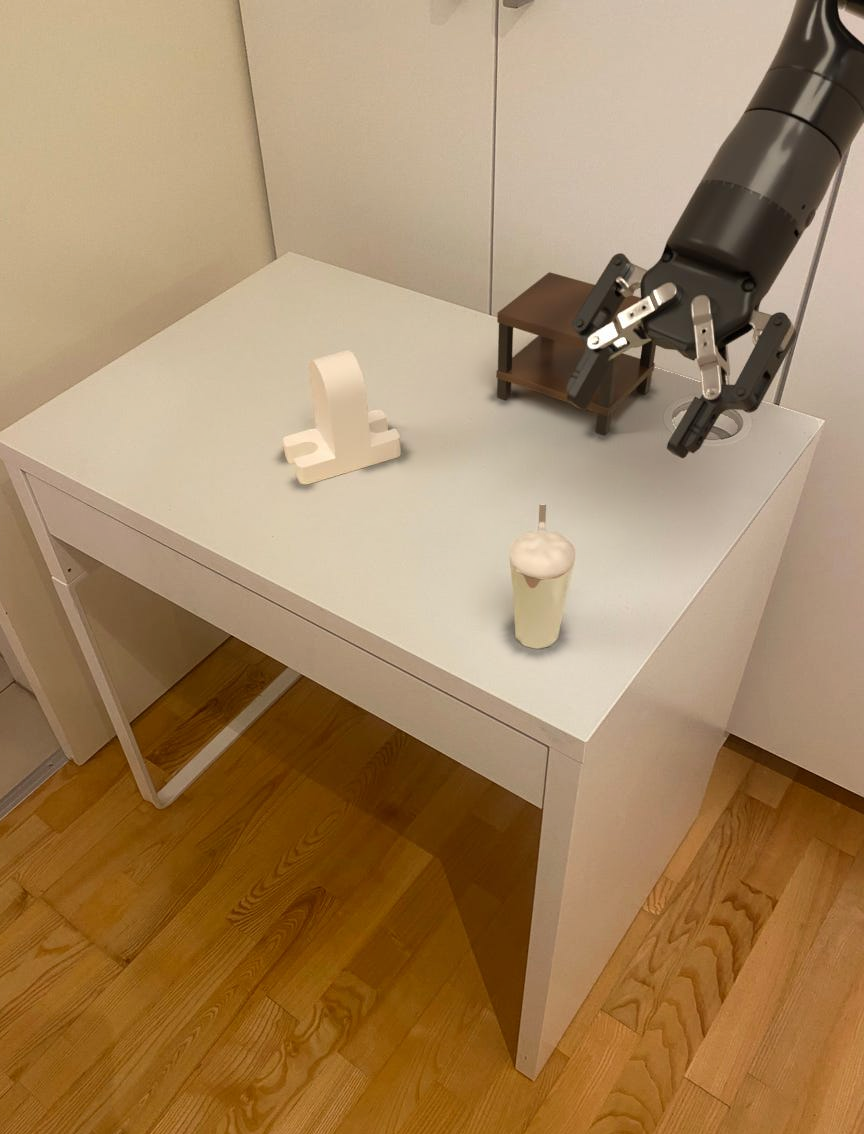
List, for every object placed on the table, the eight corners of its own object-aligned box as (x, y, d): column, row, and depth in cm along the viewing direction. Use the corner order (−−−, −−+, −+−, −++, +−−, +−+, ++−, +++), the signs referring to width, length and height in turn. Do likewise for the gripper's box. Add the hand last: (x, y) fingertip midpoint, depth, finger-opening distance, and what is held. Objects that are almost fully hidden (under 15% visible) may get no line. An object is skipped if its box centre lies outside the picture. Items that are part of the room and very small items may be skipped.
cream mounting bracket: (403, 455, 91) (397, 358, 84) (301, 485, 89) (286, 389, 82) (381, 426, 94) (374, 330, 87) (283, 454, 92) (267, 359, 85)
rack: (651, 390, 96) (664, 303, 89) (604, 436, 91) (615, 349, 84) (544, 355, 101) (549, 271, 95) (495, 397, 97) (497, 312, 90)
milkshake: (565, 605, 76) (576, 504, 69) (568, 656, 73) (578, 555, 66) (506, 604, 77) (510, 503, 70) (505, 654, 73) (509, 554, 66)
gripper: (643, 151, 66) (521, 374, 69) (841, 209, 58) (694, 456, 61) (678, 204, 72) (565, 406, 75) (862, 263, 64) (727, 485, 68)
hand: (623, 429), depth 68 cm, fingers open, 8 cm apart
